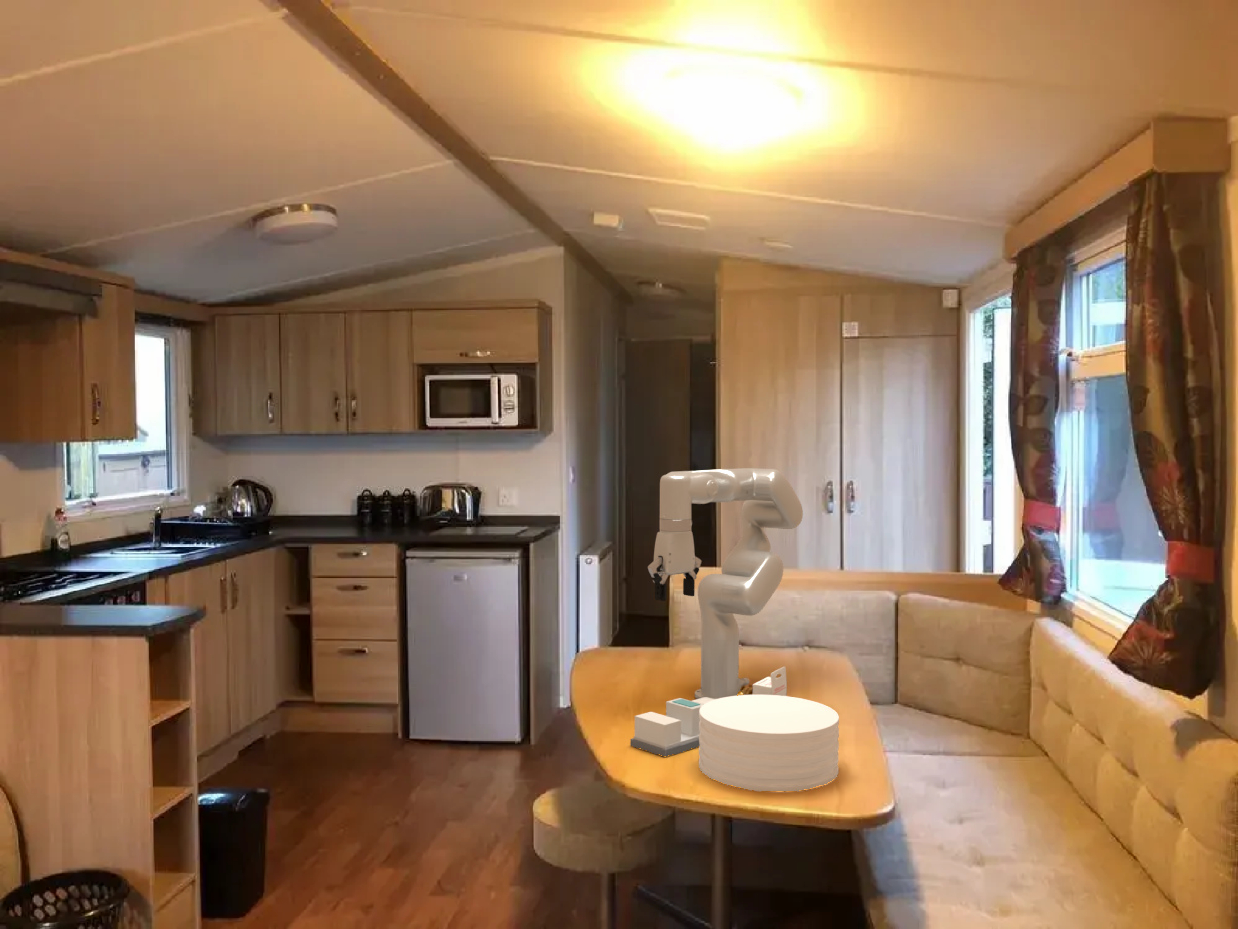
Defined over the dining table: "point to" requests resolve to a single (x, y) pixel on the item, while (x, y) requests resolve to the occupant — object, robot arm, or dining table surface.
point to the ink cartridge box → (772, 684)
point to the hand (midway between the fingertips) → (674, 597)
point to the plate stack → (768, 742)
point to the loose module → (685, 715)
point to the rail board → (663, 733)
